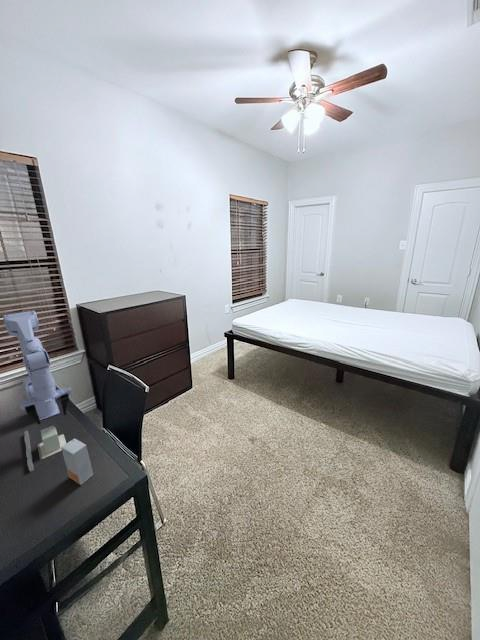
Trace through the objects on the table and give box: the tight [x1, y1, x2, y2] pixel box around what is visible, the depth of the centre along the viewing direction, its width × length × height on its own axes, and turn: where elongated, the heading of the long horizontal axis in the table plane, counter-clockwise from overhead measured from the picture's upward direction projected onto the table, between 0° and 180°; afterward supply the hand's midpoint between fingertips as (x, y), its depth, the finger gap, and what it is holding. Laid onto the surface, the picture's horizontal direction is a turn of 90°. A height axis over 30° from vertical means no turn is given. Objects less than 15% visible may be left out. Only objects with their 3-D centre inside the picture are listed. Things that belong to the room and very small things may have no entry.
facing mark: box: [36, 433, 68, 461], centre depth 94 cm, size 9×8×1 cm
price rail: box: [23, 430, 35, 472], centre depth 92 cm, size 22×1×2 cm, turn 41°
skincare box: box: [61, 438, 94, 486], centre depth 80 cm, size 6×4×12 cm
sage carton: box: [40, 424, 60, 454], centre depth 93 cm, size 4×6×6 cm
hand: (52, 417), depth 94 cm, fingers open, 7 cm apart
